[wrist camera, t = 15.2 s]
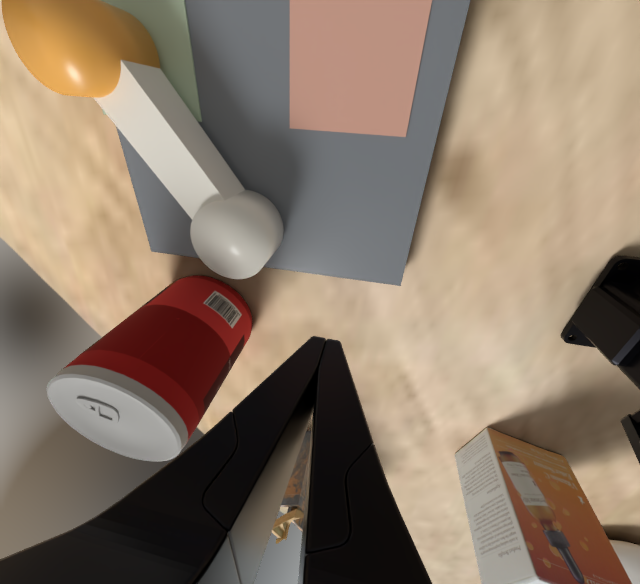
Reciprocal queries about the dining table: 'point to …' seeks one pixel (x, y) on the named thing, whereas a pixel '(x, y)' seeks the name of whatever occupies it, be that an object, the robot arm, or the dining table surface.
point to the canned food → (155, 370)
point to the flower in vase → (629, 558)
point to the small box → (531, 516)
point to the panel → (309, 118)
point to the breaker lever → (147, 121)
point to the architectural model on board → (295, 493)
